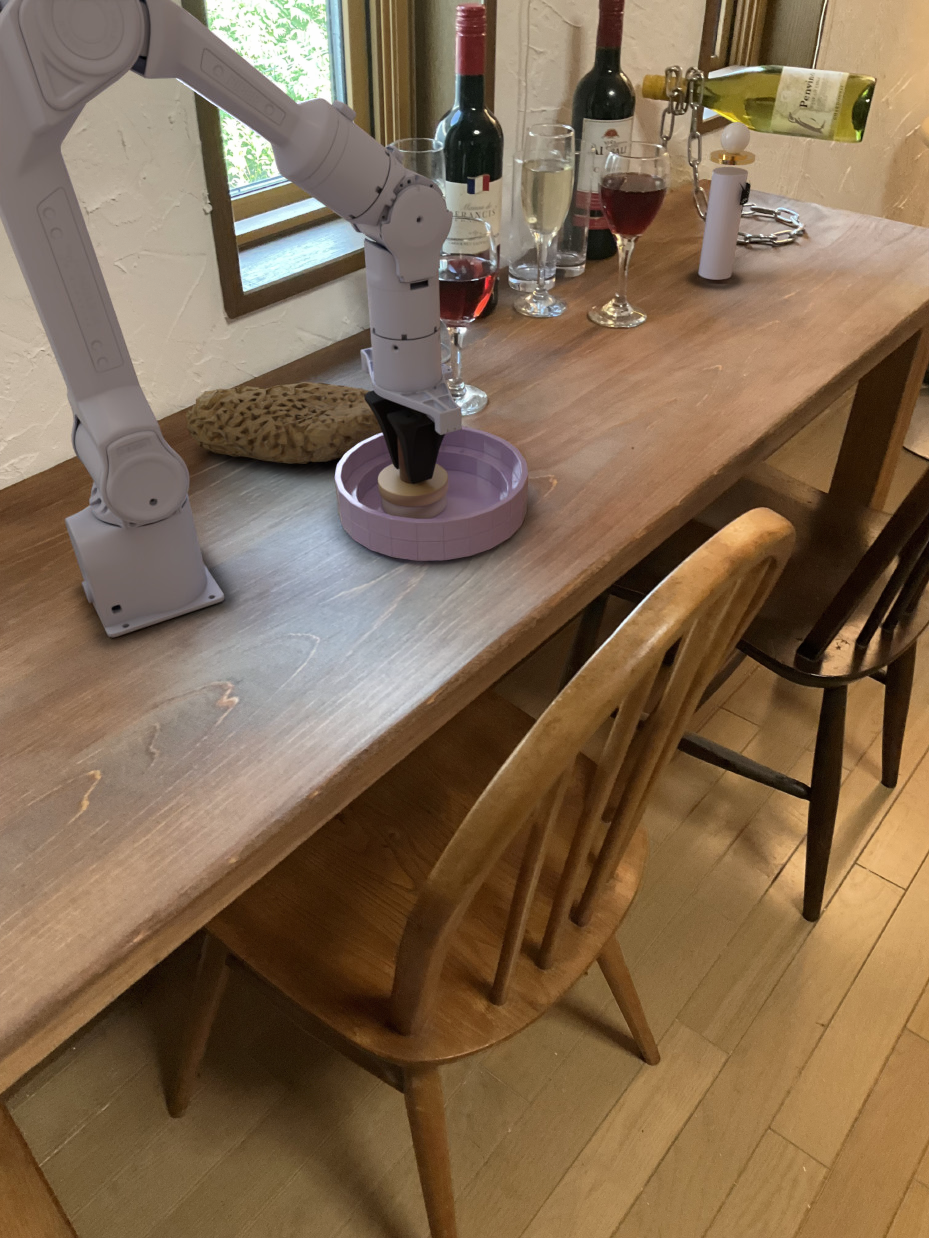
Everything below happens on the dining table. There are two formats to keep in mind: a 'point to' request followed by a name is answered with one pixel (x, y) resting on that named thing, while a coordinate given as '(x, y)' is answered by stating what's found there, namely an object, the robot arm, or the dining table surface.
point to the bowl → (476, 498)
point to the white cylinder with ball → (725, 203)
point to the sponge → (283, 421)
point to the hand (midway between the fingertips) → (413, 472)
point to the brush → (412, 492)
